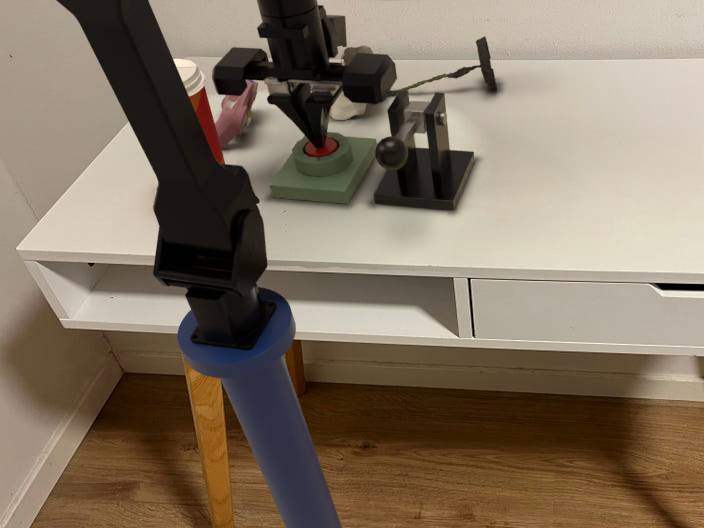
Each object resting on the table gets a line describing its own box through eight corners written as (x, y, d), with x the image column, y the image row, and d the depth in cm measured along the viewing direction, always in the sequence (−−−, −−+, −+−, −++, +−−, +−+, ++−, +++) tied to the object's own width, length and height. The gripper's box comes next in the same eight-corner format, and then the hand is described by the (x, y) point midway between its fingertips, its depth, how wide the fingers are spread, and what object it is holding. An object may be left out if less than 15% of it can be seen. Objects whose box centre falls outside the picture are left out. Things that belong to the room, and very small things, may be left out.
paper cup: (158, 199, 90) (109, 83, 80) (203, 164, 94) (162, 51, 84) (210, 215, 87) (166, 97, 77) (254, 179, 91) (218, 63, 81)
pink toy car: (238, 161, 97) (250, 113, 93) (201, 147, 96) (211, 99, 91) (256, 120, 104) (267, 74, 99) (221, 107, 103) (231, 60, 98)
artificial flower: (503, 111, 101) (493, 49, 93) (334, 145, 103) (308, 87, 94) (495, 63, 106) (484, -1, 97) (333, 96, 107) (308, 36, 99)
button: (333, 169, 89) (330, 155, 87) (303, 167, 89) (300, 153, 88) (344, 152, 91) (341, 138, 90) (315, 150, 92) (311, 136, 90)
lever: (403, 177, 76) (400, 145, 74) (372, 174, 77) (368, 143, 75) (437, 127, 85) (435, 98, 83) (408, 125, 86) (406, 96, 84)
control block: (347, 204, 87) (341, 177, 84) (272, 197, 89) (264, 170, 86) (378, 151, 94) (373, 124, 92) (308, 145, 96) (302, 119, 93)
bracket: (453, 210, 85) (445, 128, 78) (374, 203, 87) (359, 123, 80) (474, 160, 92) (469, 80, 84) (401, 155, 93) (389, 76, 86)
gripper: (402, -24, 81) (419, 115, 92) (236, -28, 85) (272, 106, 96) (368, 22, 74) (391, 167, 85) (188, 16, 77) (233, 155, 89)
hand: (320, 146), depth 89 cm, fingers closed, pressing on button
